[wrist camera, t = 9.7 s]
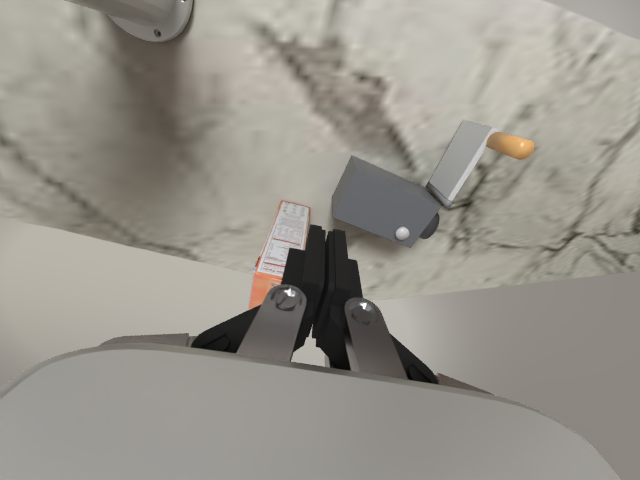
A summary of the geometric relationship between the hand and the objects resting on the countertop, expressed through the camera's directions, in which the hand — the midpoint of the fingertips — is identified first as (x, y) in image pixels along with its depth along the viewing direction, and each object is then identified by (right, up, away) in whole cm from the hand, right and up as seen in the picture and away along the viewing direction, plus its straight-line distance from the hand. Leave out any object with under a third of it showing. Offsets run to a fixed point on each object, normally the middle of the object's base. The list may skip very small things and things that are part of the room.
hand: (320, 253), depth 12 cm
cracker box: (-6, +2, +37) cm, 38 cm away
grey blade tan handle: (+21, +14, +28) cm, 38 cm away
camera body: (+11, +9, +32) cm, 35 cm away
